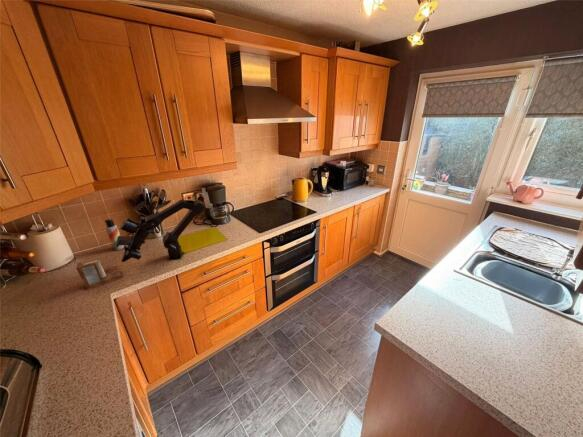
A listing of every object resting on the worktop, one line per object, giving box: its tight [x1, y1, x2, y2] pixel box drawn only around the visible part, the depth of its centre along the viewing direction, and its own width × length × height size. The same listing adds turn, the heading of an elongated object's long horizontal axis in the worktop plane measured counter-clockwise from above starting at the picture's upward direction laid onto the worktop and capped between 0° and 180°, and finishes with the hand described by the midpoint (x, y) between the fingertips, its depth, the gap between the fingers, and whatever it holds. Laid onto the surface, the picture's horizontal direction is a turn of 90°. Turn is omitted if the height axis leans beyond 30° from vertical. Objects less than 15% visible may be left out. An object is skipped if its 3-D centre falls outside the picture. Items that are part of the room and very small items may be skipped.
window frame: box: [76, 261, 122, 290], centre depth 115 cm, size 14×5×13 cm, turn 128°
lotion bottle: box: [104, 218, 125, 251], centre depth 142 cm, size 6×6×20 cm
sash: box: [83, 259, 107, 277], centre depth 115 cm, size 6×1×10 cm, turn 128°
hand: (122, 261), depth 122 cm, fingers closed
